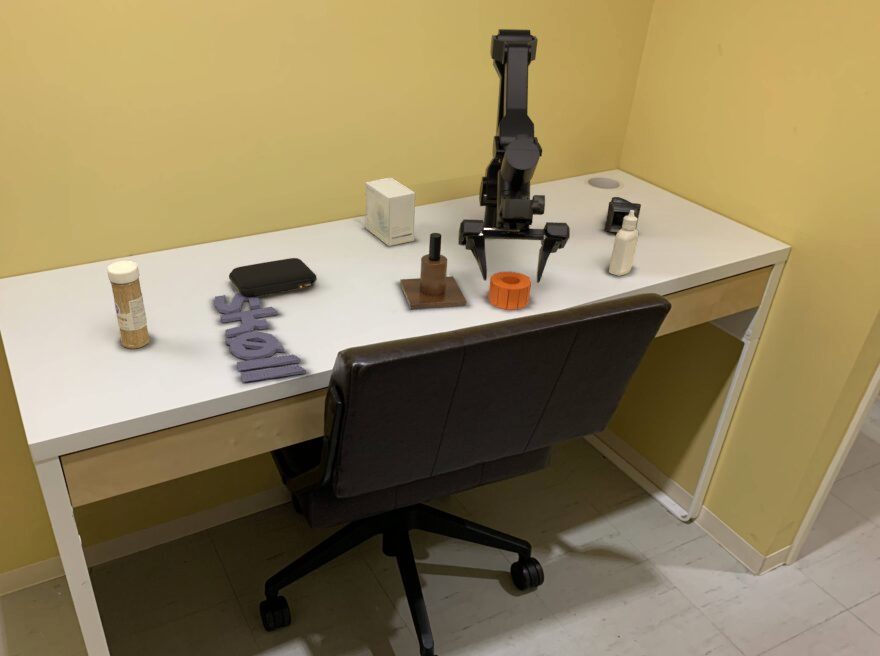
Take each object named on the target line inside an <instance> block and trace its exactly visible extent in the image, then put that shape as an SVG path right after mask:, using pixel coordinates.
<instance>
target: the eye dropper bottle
mask: <svg viewBox="0 0 880 656" xmlns="http://www.w3.org/2000/svg"><path fill="white" fill-rule="evenodd" d="M636 224H637V225H638V222H637V218H636V217H635V216H634V210H630V213H629V215H628V216H625V217H624V220H623V225H622V229H620V230H619V231H618V232H616V235H615V238H614V243H613V246H612V247H613V248H612V253H611V258H610V262H609V268H608V272H609V274H612V275H615V276H617V277H618V276H619V277H620V276H624V275H626V274H628V273H630V272H631V270H632V268H633V264H634V258H635V253H636V248H637V244H638V239H639V230H638V229H637V227H636Z"/></svg>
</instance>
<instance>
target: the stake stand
mask: <svg viewBox="0 0 880 656" xmlns="http://www.w3.org/2000/svg"><path fill="white" fill-rule="evenodd" d="M442 235H443V234H441V233H440V232H432V233H430V234H429V245H428V249H429V250H428V254H425V255H423V256H422V257H421V258H420V274H419V275H420V277H417V278H401V279H400V280H399V285H400V288H401V290H402V292H403V295H404V297H405V300H406V301H407V305H408V307H409V309H410V310H419V309H420V310H421V309H423V310H424V309H436V308H437V309H438V308H450V307H453V308H454V307H465V306H467V299H466V297H465V295H464V293H463V292H462V290H461V288H460V287H459V285H458V283H457V281H456V279H455V278H454V276H453V275H451V276H450V275H449V276H447V273H448V257H447V256H445V255H443V254H441V251H442V237H443V236H442Z"/></svg>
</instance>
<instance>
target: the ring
mask: <svg viewBox="0 0 880 656" xmlns="http://www.w3.org/2000/svg"><path fill="white" fill-rule="evenodd" d="M531 290H532V280H531V278H530V277H529V276H527V275H526V274H524V273H522V272H517V271H499V272H496V273H493V274H492V275H491V276H490V278H489V287H488V295H487V296H488V297H487V299H488V301H489V304H491V305H493V306H494V307H496V308H498V309H503V310H519V309H520V310H521V309H523V308H525V307H527V306H528V304H529V303H530V297H531V296H530V295H531Z"/></svg>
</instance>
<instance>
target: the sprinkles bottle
mask: <svg viewBox="0 0 880 656" xmlns="http://www.w3.org/2000/svg"><path fill="white" fill-rule="evenodd" d="M106 271H107V277H108V281H109V284H110V286H111V291H112V296H113V302H114V303H113V304H114V308H115V309H114V310H115V314H116V319H117V325H118V327H119V329H118V330H119V334H120V342H121V343H120V344H121V345H122V346H123V347H124V348H126V349H140V348H142V347H144V346H147V345H148V344H149V343H150V340H151V337H150V335H149V329H148V322H147V315H146V308H145V303H144V297H143V293H142V289H141V288H142V287H141V281H140V269H139V265H138V264H137V263H136V262H135V261H131V260H120V261H115V262H113V263H111V264H110V265H108V266H107V269H106Z"/></svg>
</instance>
